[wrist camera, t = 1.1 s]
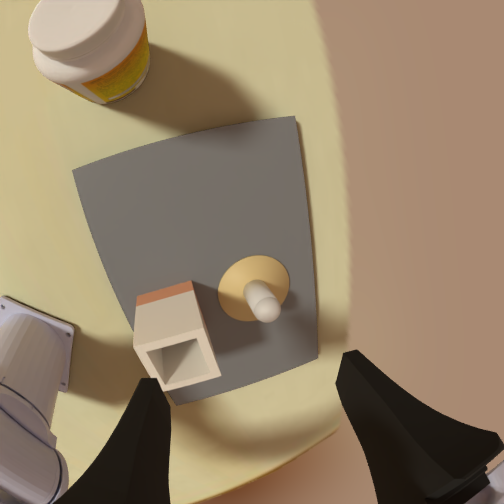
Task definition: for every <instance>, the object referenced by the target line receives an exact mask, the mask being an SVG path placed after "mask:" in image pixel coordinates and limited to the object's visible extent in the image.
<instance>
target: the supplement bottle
mask: <svg viewBox="0 0 504 504" xmlns="http://www.w3.org/2000/svg"><path fill="white" fill-rule="evenodd" d="M28 35H29V39H30V41H31V43H32V44H33V58H34V62H35V65H36V67H37V69H38V70H39V71H40V73H41V74H42V75H43V76H45V77H46V78H47V79H49V80H51V81H52V82H54V83H56V84H58V85H60V86H62V87H64V88H66V89H67V90H69V91H71V92H73V93H75V94H77V95H78V96H80V97H82V98H84V99H86V100H88V101H91V102H94V103H99V104H107V103H113V102H116V101H119V100H121V99H124V98H125V97H127V96H129V95H130V94H132V93H133V92H134V91H135V90H136V89H137V88H138V87H139V86H140V85H141V84H142V82H143V81H144V79H145V77H146V75H147V73H148V70H149V66H150V52H149V45H148V37H147V28H146V21H145V13H144V8H143V5H142V2H141V0H41V1H40V2H39V3H38V4H37V6H36V8H35V9H34V11H33V13H32V15H31V18H30V21H29V26H28Z"/></svg>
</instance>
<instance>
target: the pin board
mask: <svg viewBox="0 0 504 504" xmlns="http://www.w3.org/2000/svg"><path fill="white" fill-rule="evenodd" d="M72 171H73V175H74V179H75V183H76V187H77V190H78V194H79V197H80V200H81V204H82V207H83V210H84V213H85V216H86V220H87V223H88V226H89V228H90V231H91V234H92V237H93V240H94V243H95V245H96V248H97V251H98V253H99V256H100V259H101V261H102V264H103V266H104V269H105V271H106V273H107V276H108V278H109V281H110V283H111V285H112V288H113V290H114V292H115V294H116V297H117V299H118V301H119V303H120V305H121V307H122V310H123V312H124V314H125V316H126V318H127V320H128V322H129V324H130V326H131V328H132V330H133V332H134V324H135V312H136V301H137V296H139V295H143V294H146V293H150V292H153V291H156V290H160V289H163V288H167V287H170V286H174V285H177V284H180V283H184V282H187V281H192V284H193V287H194V291H195V294H196V297H197V300H198V303H199V306H200V309H201V312H202V315H203V318H204V321H205V324H206V327H207V330H208V334H209V337H210V340H211V344H212V347H213V350H214V353H215V357H216V360H217V363H218V366H219V369H220V372H221V375H222V376H219V377H216V378H213V379H209V380H206V381H202V382H199V383H195V384H192V385H188V386H184V387H180V388H176V389H172V390H168V391H167V392H168V393H169V395H170V397H171V398H172V400H173V401H174V403H175V404H176V406H177V405H181V404H185V403H189V402H193V401H197V400H200V399H204V398H208V397H211V396H215V395H218V394H221V393H225V392H228V391H231V390H234V389H237V388H241V387H244V386H247V385H250V384H253V383H255V382H258V381H261V380H264V379H267V378H270V377H272V376H275V375H278V374H280V373H283V372H286V371H288V370H291V369H293V368H296V367H298V366H301V365H303V364H306V363H308V362H310V361H313V360H315V359H317V358H318V340H317V317H316V299H315V284H314V270H313V257H312V246H311V235H310V225H309V215H308V206H307V198H306V189H305V181H304V173H303V166H302V159H301V152H300V145H299V138H298V132H297V125H296V119H295V116H288V117H280V118H272V119H265V120H258V121H252V122H245V123H239V124H234V125H228V126H223V127H218V128H213V129H208V130H203V131H199V132H194V133H190V134H186V135H182V136H178V137H174V138H170V139H166V140H162V141H158V142H155V143H151V144H148V145H144V146H141V147H137V148H134V149H131V150H128V151H125V152H121V153H118V154H115V155H112V156H109V157H107V158H104V159H101V160H98V161H95V162H93V163H90V164H87V165H84V166H82V167H79V168H77V169H74V170H72Z"/></svg>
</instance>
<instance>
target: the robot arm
mask: <svg viewBox="0 0 504 504" xmlns="http://www.w3.org/2000/svg"><path fill="white" fill-rule="evenodd" d="M3 305H4V306H5V307H4V306H3ZM74 331H75V329H74V327H73V326H72V325H71V324H68V323H66V322H63V321H61V320H58V319H56V318H53V317H51V316H48V315H46V314H43V313H41V312H38V311H36V310H34V309H31V308H29V307H27V306H25V305H22V304H20V303H18V302H16V301H14V300H12V299H10V298H8V297H5V296H1V297H0V504H170V495H169V479H168V474H169V456H170V440H171V413H170V405H169V403H168V401H167V399H166V397H165V395H164V393H163V391H162V388H161V386H160V384H159V382H158V379H157V378H142V379H141V380H140V381H139V383H138V386H137V388H136V390H135V392H134V394H133V396H132V398H131V400H130V402H129V404H128V406H127V408H126V410H125V412H124V414H123V415H122V417H121V419H120V421H119V423H118V425H117V426H116V428H115V430H114V431H113V433H112V435H111V436H110V438H109V440H108V441H107V443H106V444H105V446H104V447H103V449H102V450H101V452H100V453H99V455H98V456H97V457H96V459H95V460H94V461H93V463H92V464H91V465H90V466H89V468H88V469H87V470H86V471H85V472H84V474H83V475H82V476H81V477H80V478H79V479H78V480H77V481H76V482H75V483H74V484H73V485H72V486H71V487H70V488H69V489H68V484H69V475H68V467H67V463H66V461H65V458H64V457H63V455H62V454H61V453H60V452H59V451H58V450H57V449H55V448H56V440H57V437H56V436H55V435H54V434H53V433H52V432H51V431H50V429H51V423H52V418H53V413H54V408H55V403H56V398H57V394H58V390H59V391H61V392H67V391H68V382H69V370H70V360H71V352H72V344H73V337H74ZM67 333H70V335H69V334H67ZM63 382H64V383H63ZM335 384H336V387H337V390H338V394H339V397H340V400H341V403H342V405H343V408H344V410H345V412H346V414H347V416H348V418H349V420H350V422H351V425H352V426H353V429H354V431H355V433H356V435H357V437H358V439H359V441H360V444H361V446H362V448H363V451H364V453H365V456H366V459H367V463H368V466H369V469H370V472H371V476H372V480H373V483H374V487H375V492H376V496H377V501H378V504H504V460H503V461H502V462H501V463H499V464H498V465H497V466H496V467H495V468H493V469H492V470H491V471H489V472H488V473H487V474H485V471H486V470H487V466H486V465H487V464H488V463H489V462H490V461H491V460H493V459H494V458H495V457H496V456H497V455H498V454H499V453H500V452H501V451H502V450H504V444H503V442H502V441H501V439H500V437H499V436H498V434H497V433H495V432H491V431H487V430H483V429H479V428H476V427H473V426H470V425H467V424H464V423H461V422H459V421H457V420H454V419H452V418H450V417H448V416H446V415H443V414H441V413H439V412H437V411H436V410H434V409H432V408H430V407H429V406H427V405H426V404H424V403H422V402H421V401H419V400H418V399H416V398H415V397H413V396H412V395H411V394H409V393H408V392H407V391H405V390H404V389H403V388H401V387H400V386H399V385H397V384H396V383H395V382H394V381H393V380H391V379H390V378H389V377H388V376H386V375H385V374H384V373H383V372H382V371H381V370H380V369H378V368H377V367H376V366H375V365H374V364H373V363H372V362H371V361H369V360H368V359H367V358H366V357H365V356H364V355H363V354H361V353H360V352H359V351H358V350H353V351H349V352H345V353H343V356H342V360H341V364H340V368H339V372H338V376H337V380H336V383H335Z"/></svg>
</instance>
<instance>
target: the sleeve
mask: <svg viewBox="0 0 504 504" xmlns="http://www.w3.org/2000/svg"><path fill="white" fill-rule="evenodd" d="M133 348H134V350H135V351H136V353H137V355H138V357H139V358H140V360H141V362H142V364H143V365H144V367H145V369H146V370H147V372H148V374H149V375H150V377H151V378H157V379H158V382H159V384H160V386H161V388H162V391H163V392H164V391H168V390H172V389H176V388H180V387H184V386H188V385H192V384H195V383H199V382H202V381H206V380H209V379H213V378H216V377H219V376H222V375H221V372H220V369H219V366H218V363H217V360H216V357H215V353H214V350H213V347H212V344H211V340H210V337H209V334H208V330H207V327H206V324H205V321H204V318H203V315H202V312H201V309H200V306H199V303H198V300H197V297H196V294H195V291H194V287H193V284H192V281H187V282H184V283H180V284H177V285H174V286H170V287H167V288H163V289H160V290H156V291H153V292H150V293H146V294H143V295H139V296H137V301H136V312H135V324H134V338H133Z"/></svg>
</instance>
